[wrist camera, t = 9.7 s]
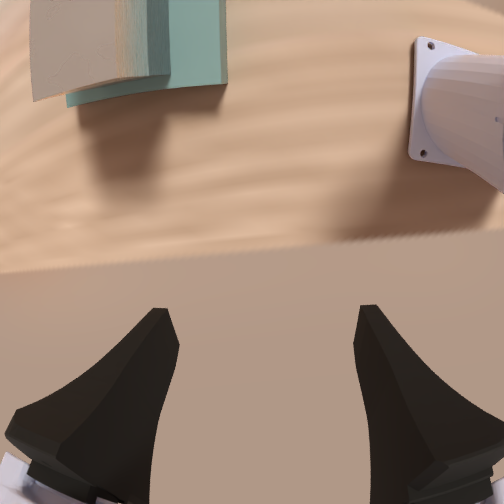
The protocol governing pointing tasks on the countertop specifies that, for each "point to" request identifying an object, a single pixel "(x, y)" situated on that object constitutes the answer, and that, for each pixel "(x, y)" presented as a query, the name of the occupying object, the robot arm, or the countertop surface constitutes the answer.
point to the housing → (96, 44)
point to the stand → (180, 53)
